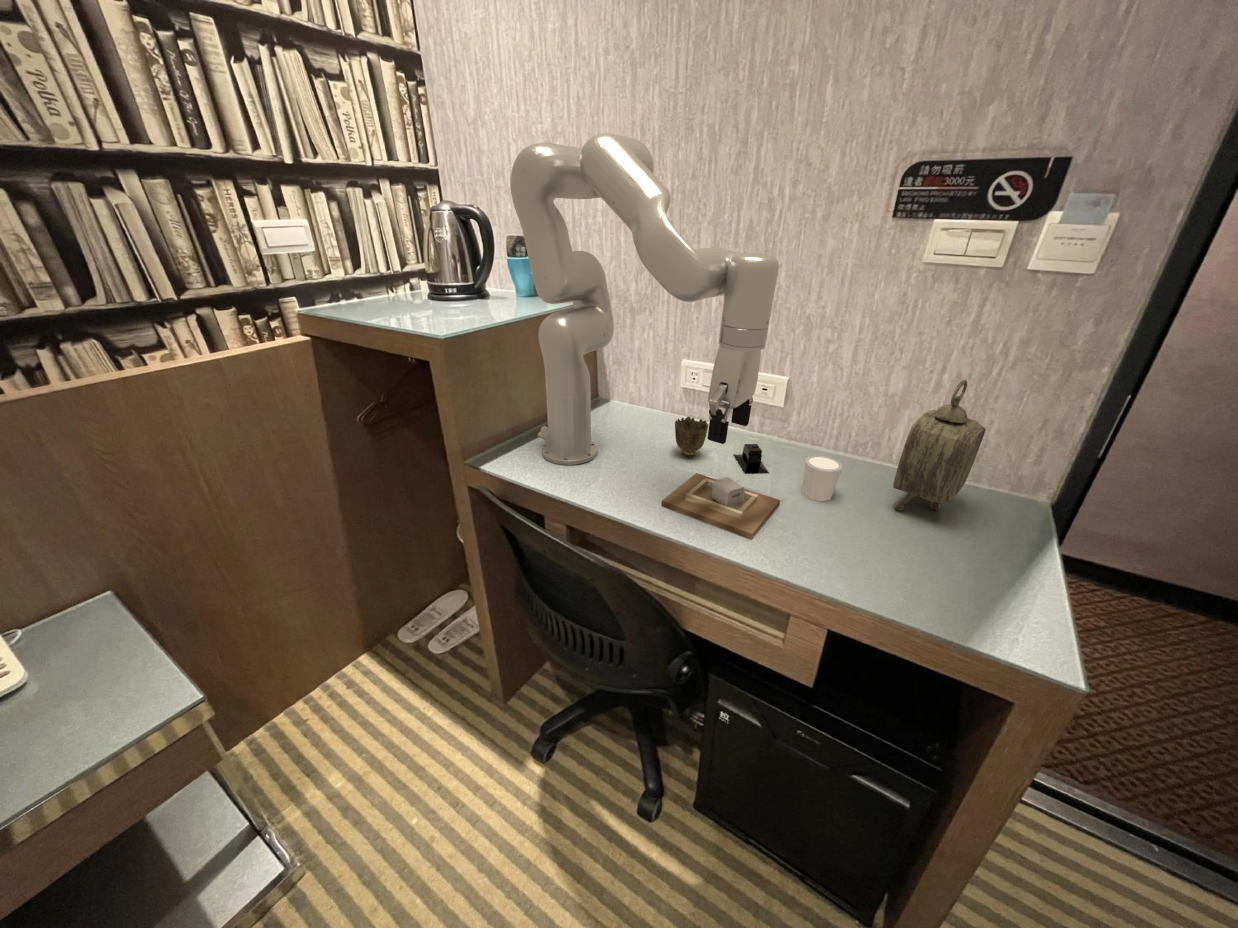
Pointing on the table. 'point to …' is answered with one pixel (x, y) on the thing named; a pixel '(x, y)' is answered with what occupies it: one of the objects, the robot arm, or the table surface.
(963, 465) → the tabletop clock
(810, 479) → the beige short cylinder
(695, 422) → the cup
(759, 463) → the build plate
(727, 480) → the usb wall charger
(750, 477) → the table surface
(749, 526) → the jig board
